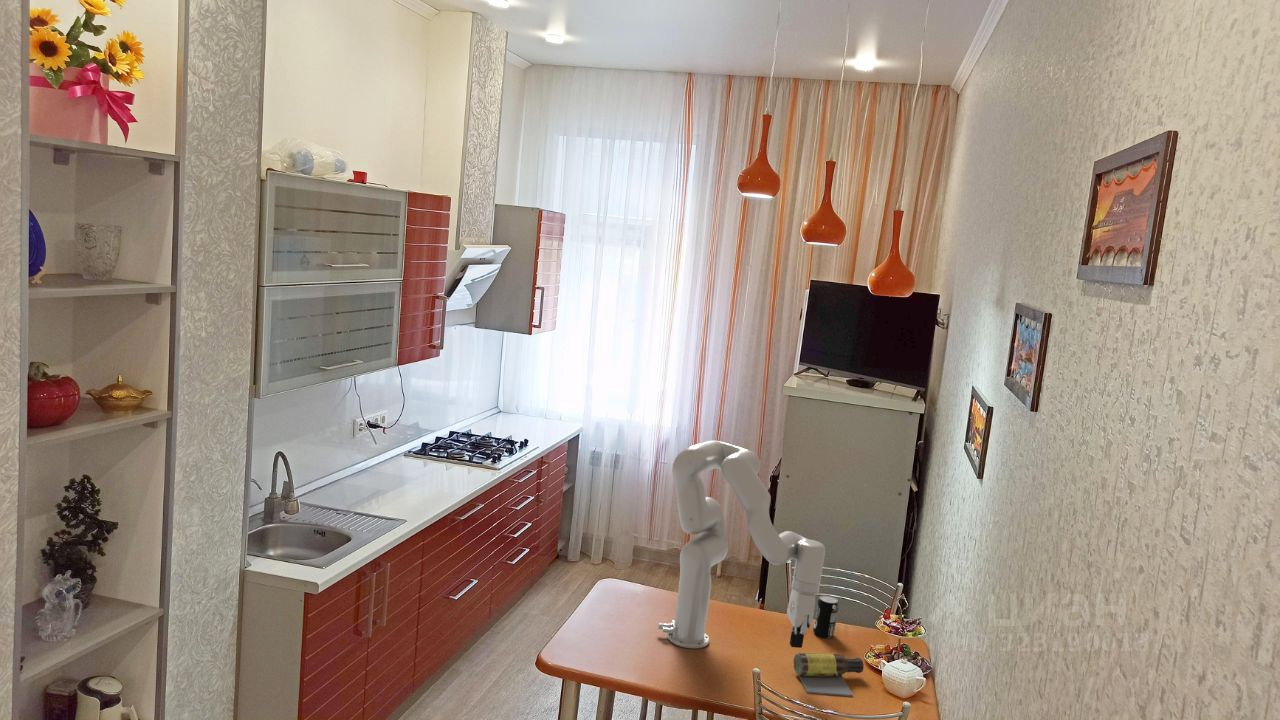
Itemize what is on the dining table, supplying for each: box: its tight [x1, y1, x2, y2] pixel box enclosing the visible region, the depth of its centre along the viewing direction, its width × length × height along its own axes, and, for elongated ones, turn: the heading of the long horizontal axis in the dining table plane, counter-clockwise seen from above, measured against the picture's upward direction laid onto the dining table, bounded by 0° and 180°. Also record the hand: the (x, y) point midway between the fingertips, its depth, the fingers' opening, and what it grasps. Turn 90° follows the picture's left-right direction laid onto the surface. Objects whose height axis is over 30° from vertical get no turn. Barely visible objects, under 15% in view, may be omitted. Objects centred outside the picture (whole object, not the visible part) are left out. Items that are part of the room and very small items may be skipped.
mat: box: [797, 674, 854, 697], centre depth 261 cm, size 13×15×1 cm
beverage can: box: [813, 594, 839, 639], centre depth 292 cm, size 7×7×12 cm
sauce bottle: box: [793, 652, 864, 676], centre depth 264 cm, size 6×6×20 cm
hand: (795, 645), depth 259 cm, fingers closed
